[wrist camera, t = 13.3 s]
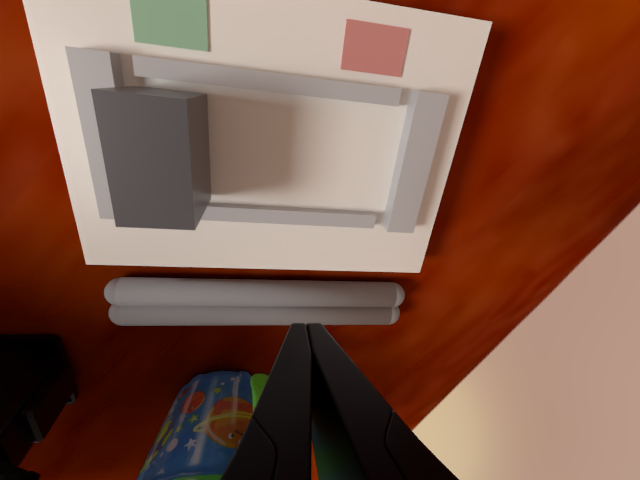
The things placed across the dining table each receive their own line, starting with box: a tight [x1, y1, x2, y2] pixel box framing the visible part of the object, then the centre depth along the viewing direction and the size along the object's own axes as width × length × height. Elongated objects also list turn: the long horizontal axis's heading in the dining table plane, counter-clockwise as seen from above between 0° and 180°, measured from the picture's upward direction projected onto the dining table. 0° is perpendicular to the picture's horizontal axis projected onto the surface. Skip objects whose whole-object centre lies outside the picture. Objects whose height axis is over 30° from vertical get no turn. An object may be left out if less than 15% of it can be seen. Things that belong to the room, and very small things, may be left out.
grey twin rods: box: [104, 277, 405, 326], centre depth 18 cm, size 20×24×2 cm
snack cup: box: [137, 371, 269, 480], centre depth 23 cm, size 16×10×10 cm
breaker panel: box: [23, 0, 492, 273], centre depth 17 cm, size 20×14×3 cm
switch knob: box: [91, 86, 211, 230], centre depth 14 cm, size 3×5×4 cm, turn 173°
